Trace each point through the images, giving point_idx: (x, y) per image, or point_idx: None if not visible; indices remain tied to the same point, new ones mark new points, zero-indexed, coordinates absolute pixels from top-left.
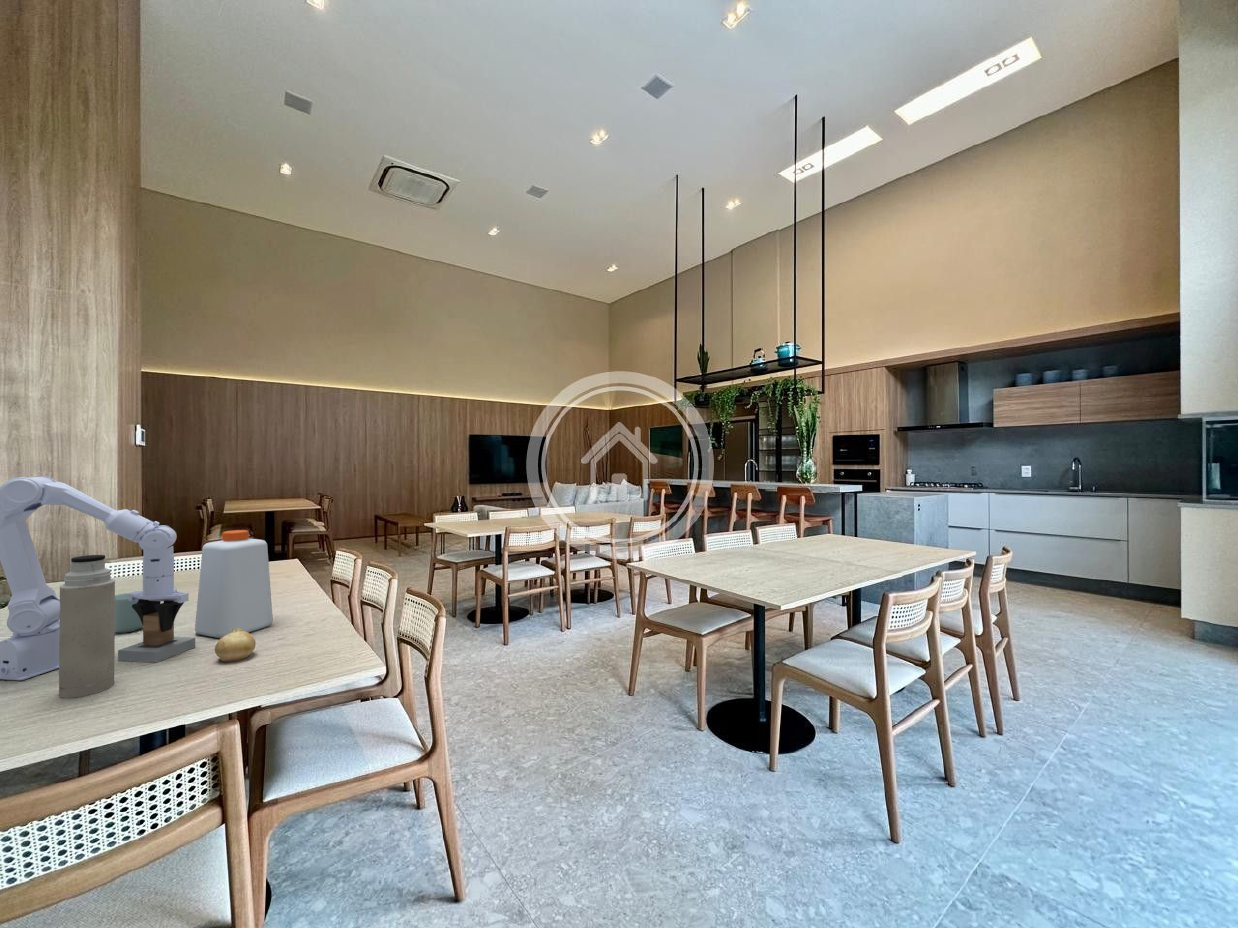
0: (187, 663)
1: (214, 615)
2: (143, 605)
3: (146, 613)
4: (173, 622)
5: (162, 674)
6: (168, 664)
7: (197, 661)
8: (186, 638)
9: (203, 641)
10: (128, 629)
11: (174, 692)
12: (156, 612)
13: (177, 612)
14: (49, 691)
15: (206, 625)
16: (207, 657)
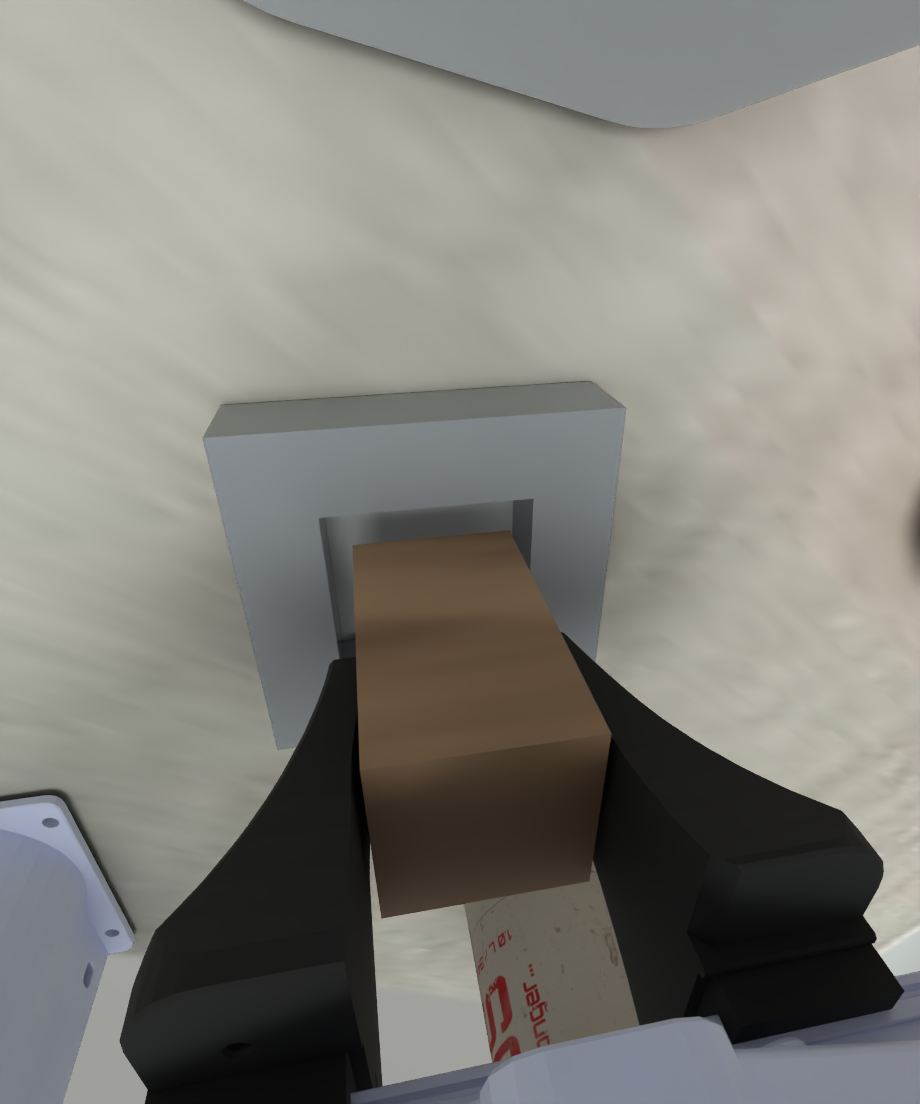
0: (764, 619)
1: (731, 55)
2: (376, 1077)
3: (368, 905)
4: (599, 668)
5: (737, 734)
6: (665, 653)
7: (803, 585)
8: (562, 446)
9: (534, 217)
10: None
11: (907, 808)
12: (395, 816)
13: (692, 741)
14: (411, 928)
15: (488, 49)
16: (825, 525)
